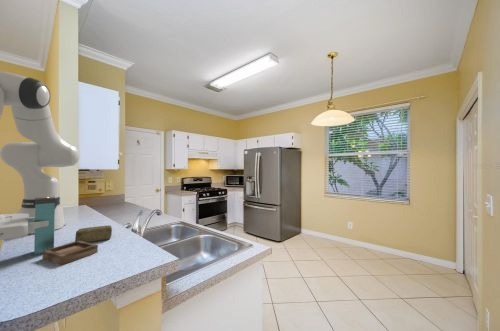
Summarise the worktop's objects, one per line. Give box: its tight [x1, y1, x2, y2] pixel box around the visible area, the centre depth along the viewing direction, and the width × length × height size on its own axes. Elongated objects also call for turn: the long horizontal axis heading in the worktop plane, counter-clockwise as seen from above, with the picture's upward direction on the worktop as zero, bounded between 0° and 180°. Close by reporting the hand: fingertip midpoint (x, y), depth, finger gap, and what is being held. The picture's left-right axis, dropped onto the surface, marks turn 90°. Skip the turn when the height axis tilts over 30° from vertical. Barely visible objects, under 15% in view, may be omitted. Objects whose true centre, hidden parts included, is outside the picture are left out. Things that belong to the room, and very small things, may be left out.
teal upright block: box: [33, 197, 55, 256], centre depth 71 cm, size 5×5×18 cm
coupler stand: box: [42, 241, 99, 266], centre depth 68 cm, size 10×10×2 cm
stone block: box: [74, 225, 113, 243], centre depth 82 cm, size 6×12×5 cm, turn 123°
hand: (48, 221), depth 72 cm, fingers closed on teal upright block, 5 cm apart
